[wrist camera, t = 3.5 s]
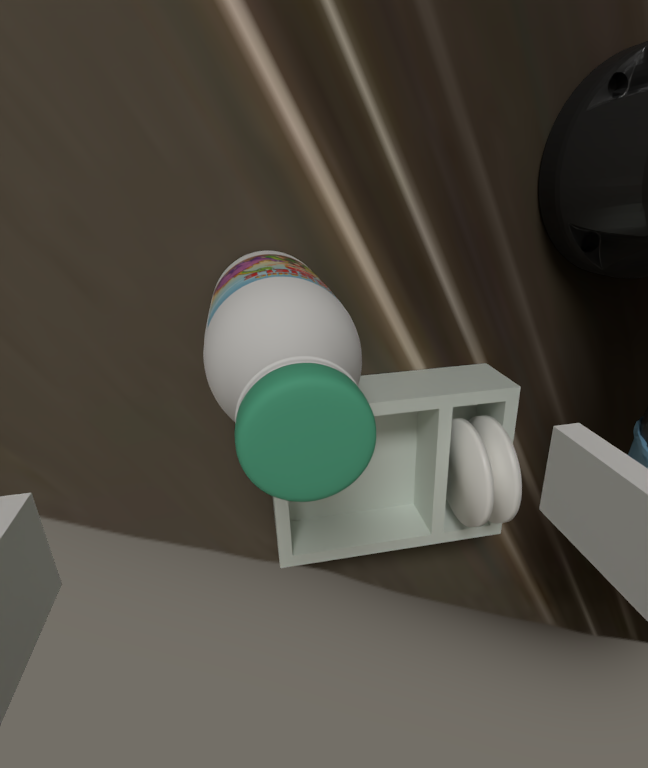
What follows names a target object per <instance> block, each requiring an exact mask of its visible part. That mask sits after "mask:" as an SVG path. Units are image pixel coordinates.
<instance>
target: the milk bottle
mask: <svg viewBox="0 0 648 768" xmlns="http://www.w3.org/2000/svg"><path fill="white" fill-rule="evenodd" d="M203 355H204V367H205V372H206V376H207V380H208V383H209V386H210V389H211V391H212V393H213V395H214V397H215V399H216V400H217V402H218V404H219V405H220V407H221V408H222V409H223V410H224V412H225V413H226V414H227V415H228V416H229V417H230V418H231V419H232V420H233V421H234V422H235V445H236V452H237V456H238V459H239V462H240V464H241V466H242V468H243V470H244V472H245V473H246V475H247V476H248V478H249V479H250V480H251V481H252V482H253V483H254V484H255V485H256V486H257V487H258V488H259V489H261V490H262V491H264V492H265V493H267V494H269V495H271V496H273V497H276V498H279V499H282V500H287V501H293V502H310V501H316V500H321V499H324V498H327V497H330V496H333V495H335V494H337V493H339V492H341V491H342V490H344V489H346V488H347V487H348V486H350V485H351V484H352V483H353V482H355V481H356V480H357V479H358V478H359V477H360V475H361V474H362V473H363V472H364V470H365V469H366V467H367V466H368V464H369V462H370V460H371V458H372V456H373V453H374V449H375V445H376V422H375V418H374V414H373V411H372V409H371V407H370V405H369V403H368V401H367V399H366V397H365V396H364V394H363V393H362V391H361V390H360V389H359V387H358V385H359V381H360V376H361V369H362V353H361V345H360V340H359V336H358V333H357V331H356V328H355V325H354V323H353V321H352V319H351V317H350V315H349V314H348V312H347V311H346V309H345V308H344V307H343V305H342V304H341V302H340V301H339V300H338V298H337V297H336V296H335V295H334V294H333V293H332V292H331V290H330V289H329V288H328V287H327V286H326V285H325V284H324V283H323V282H322V281H321V280H320V279H319V278H318V276H317V275H316V274H315V273H314V272H313V271H312V270H311V269H310V268H308V267H307V266H306V265H305V264H304V263H302V262H301V261H300V260H298V259H296V258H295V257H293V256H291V255H288V254H285V253H282V252H278V251H258V252H253V253H250V254H247V255H245V256H243V257H241V258H239V259H238V260H236V261H235V262H233V263H232V264H231V265H230V266H229V267H228V268H227V269H226V270H225V271H224V272H223V274H222V275H221V277H220V279H219V280H218V282H217V285H216V287H215V290H214V293H213V297H212V301H211V305H210V310H209V315H208V320H207V325H206V331H205V338H204V353H203Z"/></svg>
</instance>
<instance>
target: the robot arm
mask: <svg viewBox="0 0 648 768" xmlns="http://www.w3.org/2000/svg"><path fill="white" fill-rule="evenodd" d="M539 202H540V209H541V215H542V219H543V222H544V225H545V228H546V231H547V233H548V235H549V237H550V239H551V241H552V242H553V244H554V246H555V247H556V248H557V250H558V251H559V252H560V253H561V254H562V255H563V256H564V257H565V258H566V259H567V260H568V261H570V262H571V263H572V264H574V265H575V266H577V267H579V268H581V269H583V270H586V271H589V272H592V273H596V274H601V275H606V276H610V277H615V278H628V279H632V278H644V277H648V41H646V42H643V43H641V44H638V45H635V46H632V47H630V48H627V49H625V50H623V51H621V52H619V53H617V54H615V55H614V56H612V57H610V58H609V59H607V60H606V61H604V62H603V63H602V64H600V65H599V66H598V67H597V68H596V69H594V70H593V71H592V72H591V73H590V74H589V75H588V76H587V77H586V78H585V79H584V80H583V81H582V82H581V83H580V84H579V86H578V87H577V88H576V89H575V90H574V92H573V93H572V94H571V96H570V97H569V99H568V100H567V102H566V103H565V105H564V106H563V108H562V110H561V111H560V113H559V115H558V117H557V119H556V121H555V123H554V125H553V127H552V130H551V132H550V134H549V137H548V140H547V143H546V146H545V150H544V153H543V158H542V162H541V168H540V176H539ZM633 432H634V440H633V442H632V445H631V448H630V450H629V453H628V455H627V454H625V453H624V452H622V451H621V450H619V449H618V448H616V447H615V446H613V445H612V444H610V443H609V442H607V441H606V440H604V439H603V438H601V437H600V436H598V435H597V434H595V433H594V432H592V431H591V430H589V429H588V428H586V427H585V426H583V425H582V424H580V423H574V424H566V425H558V426H553V432H552V438H551V444H550V449H549V455H548V461H547V467H546V473H545V478H544V484H543V490H542V496H541V502H540V507H539V510H540V511H541V512H542V513H543V514H544V515H545V516H546V517H547V518H548V519H549V520H550V521H551V522H552V523H553V524H554V525H555V526H556V527H557V528H558V529H559V530H560V531H561V532H562V533H563V535H564V536H565V537H566V538H567V539H568V540H569V541H570V542H571V543H572V544H573V545H574V546H575V547H576V548H577V549H578V550H579V551H580V552H581V553H582V554H583V555H584V556H585V557H586V558H587V559H588V560H589V561H590V562H591V563H592V565H593V566H594V567H595V568H596V569H597V570H598V571H599V572H600V573H601V574H602V575H603V576H604V577H605V578H606V579H607V580H608V581H609V582H610V583H611V584H612V585H613V586H614V587H615V588H616V589H617V590H618V591H619V592H620V593H621V594H622V596H623V597H624V598H625V599H626V600H627V601H628V602H629V603H630V604H631V605H632V606H633V607H634V608H635V609H636V610H637V611H638V612H639V613H640V614H641V615H642V616H643V617H644V618H645V619H646V620H647V621H648V407H647V410H646V412H645V414H644V416H642V417H641V418H640V419H639V420H638V421H637V422H636V424H635V426H634V431H633ZM61 585H62V583H61V580H60V577H59V574H58V571H57V568H56V565H55V562H54V559H53V556H52V553H51V550H50V547H49V544H48V541H47V538H46V535H45V532H44V529H43V526H42V523H41V520H40V517H39V514H38V511H37V508H36V505H35V502H34V499H33V496H32V493H25V494H17V495H9V496H1V497H0V725H1V722H2V720H3V718H4V716H5V713H6V711H7V709H8V706H9V704H10V702H11V700H12V697H13V695H14V693H15V690H16V688H17V686H18V683H19V681H20V679H21V677H22V674H23V672H24V670H25V667H26V665H27V663H28V661H29V658H30V656H31V654H32V651H33V649H34V647H35V644H36V642H37V640H38V638H39V635H40V633H41V631H42V628H43V626H44V624H45V622H46V619H47V617H48V614H49V612H50V610H51V608H52V606H53V603H54V601H55V599H56V596H57V594H58V592H59V589H60V587H61Z"/></svg>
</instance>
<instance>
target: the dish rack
mask: <svg viewBox="0 0 648 768" xmlns="http://www.w3.org/2000/svg"><path fill="white" fill-rule="evenodd" d="M358 387H359V389H360V390H361V391H362V393H363V394H364V396H365V397H366V399H367V401H368V403H369V405H370V407H371V409H372V411H373V414H374V418H375V422H376V445H375V449H374V453H373V456H372V458H371V460H370V462H369V464H368V466H367V467H366V469H365V470H364V472H363V473H362V474H361V475H360V477H359V478H358V479H357V480H356V481H355V482H353V483H352V484H351V485H350V486H348V487H347V488H346V489H344V490H342V491H341V492H339V493H337V494H335V495H333V496H330V497H327V498H324V499H321V500H316V501H310V502H293V501H287V500H282V499H279V498H276V497H273V507H274V517H275V527H276V536H277V544H278V552H279V561H280V568H285V567H292V566H298V565H304V564H311V563H317V562H323V561H330V560H336V559H342V558H349V557H355V556H361V555H368V554H374V553H380V552H387V551H393V550H399V549H406V548H412V547H418V546H425V545H431V544H437V543H444V542H450V541H457V540H463V539H469V538H476V537H482V536H488V535H495V534H501V528H502V523H504V522H508V521H511V520H512V519H513V518H514V517H515V515H516V514H517V512H518V509H519V506H520V502H521V495H522V480H521V471H520V466H519V461H518V458H517V454H516V451H515V449H514V446H513V439H514V432H515V425H516V417H517V410H518V402H519V395H520V388H521V387H520V386H519V385H517V384H516V383H514V382H513V381H511V380H510V379H508V378H507V377H505V376H504V375H502V374H501V373H500V372H498V371H497V370H495V369H494V368H492V367H491V366H489V365H488V364H486V363H485V364H475V365H465V366H455V367H445V368H435V369H425V370H415V371H405V372H395V373H385V374H375V375H365V376H360V381H359V385H358Z"/></svg>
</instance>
